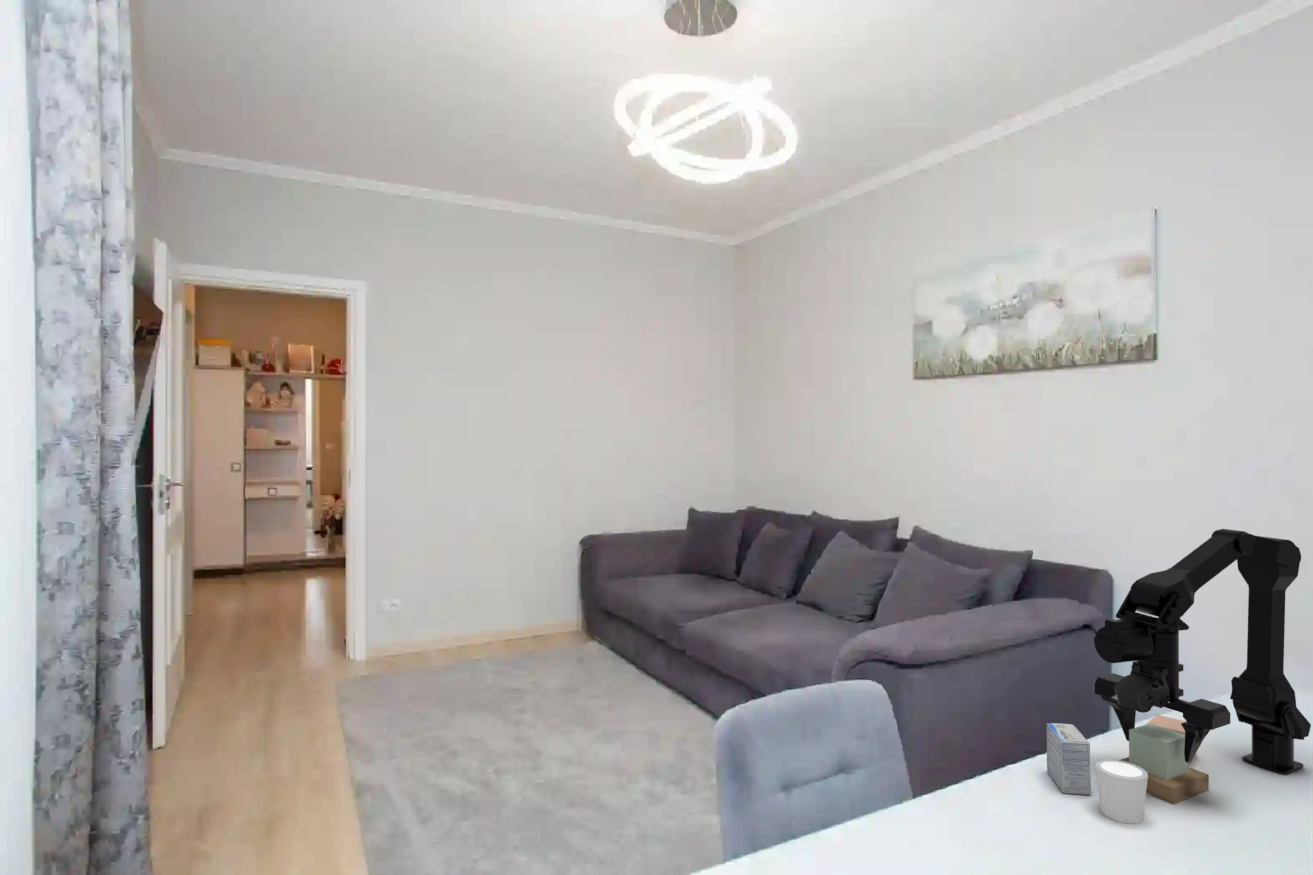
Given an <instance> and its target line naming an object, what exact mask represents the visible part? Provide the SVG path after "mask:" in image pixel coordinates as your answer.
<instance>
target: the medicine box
mask: <svg viewBox="0 0 1313 875" xmlns="http://www.w3.org/2000/svg"><path fill="white" fill-rule="evenodd" d="M1046 769H1047V770H1046V771H1047V773H1048V775H1049V776H1050V777H1051V779H1052V780H1053V782H1054V783H1055V784H1056V786H1057V787H1058V788H1059V789H1060V791H1061V793H1062V794H1069V795H1080V796H1081V795H1083V796H1084V795H1085V796H1090V795H1091V794H1092V788H1091V787H1092V785H1091V782H1092V781H1091V779H1092V776H1091V743H1090V742H1089V741H1088V740H1087V738H1086V737H1084V735H1083V734H1082V733H1081V732H1080V731H1079V729H1078V728H1077V727H1076V726H1075V725H1074V724H1070V723H1059V722H1058V723H1057V722H1053V723H1052V722H1051V723H1049V722H1047V723H1046Z"/></svg>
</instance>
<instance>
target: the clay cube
mask: <svg viewBox="0 0 1313 875" xmlns="http://www.w3.org/2000/svg"><path fill="white" fill-rule="evenodd" d="M1184 722H1187V721H1186V720H1181V719H1179V718H1178V719H1177V718H1173V717H1168V716H1165V715H1160V714H1156V715H1155V716H1154V717H1153V718H1151V719H1150V720H1149V721H1148V722H1146V724H1149V723H1151V724H1154V725H1157V726H1160V727H1163V728H1166V729H1169V730H1172V731H1175V732H1178V733H1181V734H1184V735H1185V730H1184V728H1183V727H1182V725H1181V723H1184ZM1196 758H1197V753H1196V754H1195V756H1194V758H1193V759H1192V761H1191V762H1189V765H1191V763H1193V761H1194V760H1195V759H1196Z"/></svg>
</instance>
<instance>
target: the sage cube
mask: <svg viewBox="0 0 1313 875" xmlns="http://www.w3.org/2000/svg"><path fill="white" fill-rule="evenodd" d="M1128 742H1129V743H1128V757H1129V763H1131V764H1134V765H1136V766H1139V767H1141V768H1143V769H1144V770H1145V771H1146V772H1147V773H1150V774H1152V775H1155V776H1157V777H1160V778H1162V779H1165V780H1170V779H1172V778H1175V777H1178V776H1180V775H1183V774H1186V773H1188V772H1189V768H1190V767H1189V765H1190V764H1189V763H1187V762H1185V756H1184V746H1185V735H1184V734H1181V733H1178V732H1175V731H1172V730H1169V729H1166V728H1163V727H1160V726H1157V725H1154V724H1151V723H1149V724H1147V723H1146V724H1144V725H1141V726H1137V727H1135V728H1133V729H1130V730H1129V741H1128Z"/></svg>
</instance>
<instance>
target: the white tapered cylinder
mask: <svg viewBox="0 0 1313 875" xmlns="http://www.w3.org/2000/svg"><path fill="white" fill-rule="evenodd" d="M1095 771H1096V781H1097V782H1096V783H1097V789H1098V790H1097V791H1098V800H1099V802H1098V803H1099V810H1100V813H1102V815H1103V816H1105V817H1107V818H1108V819H1111V820H1113V821H1115V822H1119V823H1124V824H1132V825H1134V824H1140V823H1142V822H1143V821H1144V816H1145V806H1146V796H1147V793H1146V789H1147V780H1148V774H1147V772H1146V771H1145V770H1144V769H1143V768H1141V767H1139V766H1136V765H1134V764H1131V763H1128V762H1124V761H1118V759H1101V760H1098V761H1097V762H1095Z"/></svg>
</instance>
